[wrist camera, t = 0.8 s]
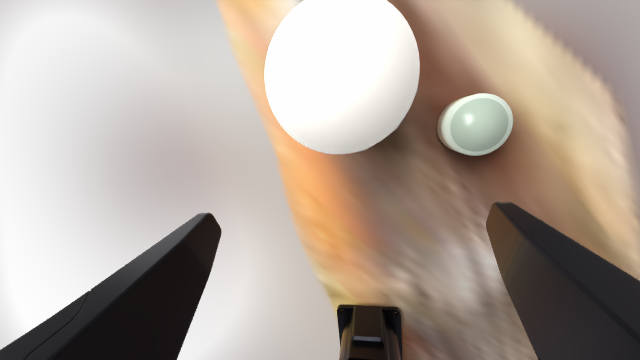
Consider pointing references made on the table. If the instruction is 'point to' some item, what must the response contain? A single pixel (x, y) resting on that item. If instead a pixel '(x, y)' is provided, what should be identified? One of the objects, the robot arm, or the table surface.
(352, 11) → the white rounded tall piece
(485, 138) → the sage bowl
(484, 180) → the table surface
